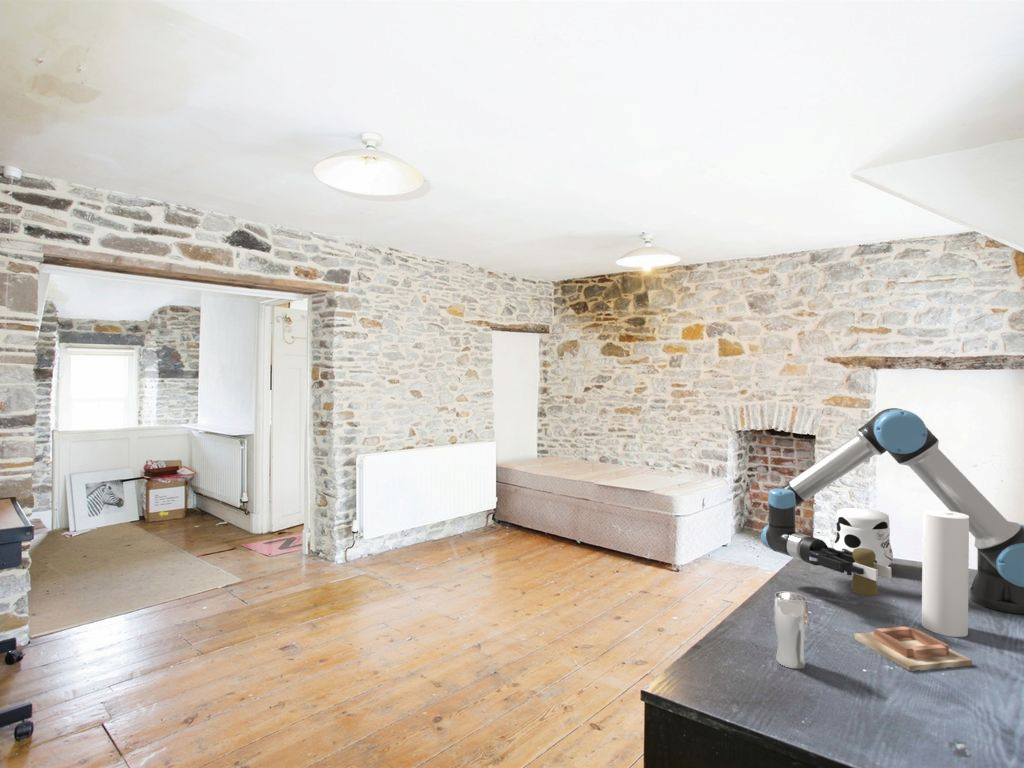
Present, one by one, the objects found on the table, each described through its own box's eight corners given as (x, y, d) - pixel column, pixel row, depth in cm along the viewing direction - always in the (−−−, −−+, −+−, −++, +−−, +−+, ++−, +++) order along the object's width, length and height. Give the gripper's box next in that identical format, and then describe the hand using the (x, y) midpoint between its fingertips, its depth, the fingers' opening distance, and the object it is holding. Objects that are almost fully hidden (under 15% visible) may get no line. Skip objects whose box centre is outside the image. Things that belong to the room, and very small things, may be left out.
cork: (876, 588, 151) (875, 547, 151) (879, 596, 145) (879, 553, 145) (849, 585, 153) (849, 544, 153) (852, 593, 148) (852, 551, 148)
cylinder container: (976, 638, 140) (977, 517, 139) (934, 635, 141) (935, 515, 141) (954, 622, 149) (955, 508, 149) (914, 619, 151) (915, 507, 150)
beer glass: (794, 673, 124) (794, 604, 123) (766, 659, 130) (766, 594, 130) (814, 665, 127) (814, 598, 127) (786, 652, 133) (787, 588, 133)
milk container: (904, 574, 186) (905, 519, 185) (851, 574, 186) (851, 519, 186) (872, 557, 203) (872, 507, 203) (823, 557, 203) (823, 507, 203)
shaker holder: (910, 633, 142) (910, 620, 142) (971, 665, 127) (971, 651, 127) (854, 638, 140) (854, 625, 140) (909, 671, 124) (909, 657, 124)
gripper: (830, 558, 169) (907, 584, 147) (785, 565, 164) (859, 593, 141) (829, 533, 169) (907, 555, 147) (785, 539, 163) (858, 563, 141)
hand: (883, 574), depth 144 cm, fingers closed on cork, 4 cm apart
